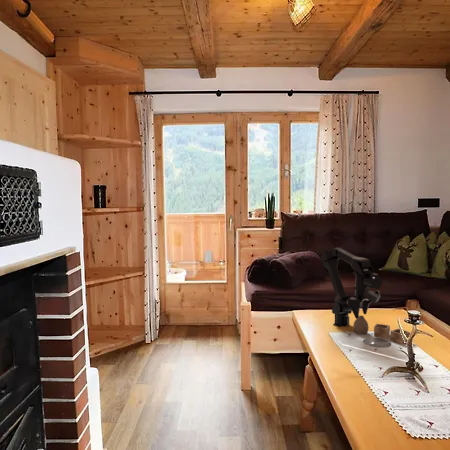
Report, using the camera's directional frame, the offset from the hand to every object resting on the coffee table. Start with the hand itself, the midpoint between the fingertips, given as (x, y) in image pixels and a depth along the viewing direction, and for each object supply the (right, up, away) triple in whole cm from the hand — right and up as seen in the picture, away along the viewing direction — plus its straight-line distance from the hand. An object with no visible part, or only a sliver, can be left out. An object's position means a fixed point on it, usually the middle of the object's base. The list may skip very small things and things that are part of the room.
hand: (360, 316), depth 186 cm
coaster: (+3, -9, -13) cm, 16 cm away
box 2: (+14, -9, -11) cm, 20 cm away
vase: (0, -9, 0) cm, 9 cm away
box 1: (+9, -9, -4) cm, 13 cm away
